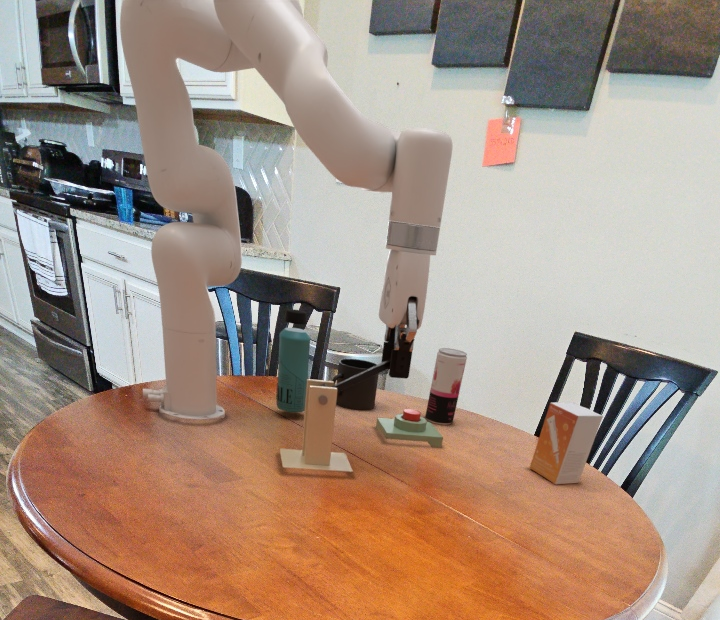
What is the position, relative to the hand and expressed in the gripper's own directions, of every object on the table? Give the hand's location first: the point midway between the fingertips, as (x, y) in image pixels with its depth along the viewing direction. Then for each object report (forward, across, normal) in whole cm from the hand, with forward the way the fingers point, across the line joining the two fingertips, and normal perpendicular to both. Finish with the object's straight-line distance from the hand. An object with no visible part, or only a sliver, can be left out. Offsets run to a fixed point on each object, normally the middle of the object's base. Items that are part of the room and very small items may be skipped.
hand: (394, 371), depth 96 cm
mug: (+16, -41, +1) cm, 44 cm away
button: (+13, -20, +10) cm, 26 cm away
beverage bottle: (+16, -29, -14) cm, 36 cm away
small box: (+17, -3, +36) cm, 40 cm away
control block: (+17, -20, +10) cm, 28 cm away
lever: (+2, 0, -5) cm, 6 cm away
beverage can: (+17, -34, +21) cm, 44 cm away
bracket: (+17, 0, -12) cm, 20 cm away
